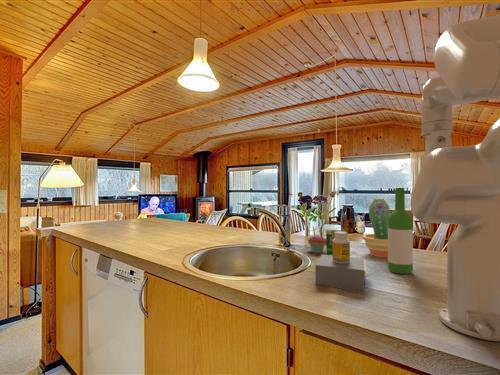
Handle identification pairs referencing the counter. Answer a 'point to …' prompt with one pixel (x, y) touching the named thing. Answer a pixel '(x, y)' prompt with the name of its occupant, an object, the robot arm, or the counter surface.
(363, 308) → the counter surface
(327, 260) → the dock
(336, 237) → the supplement bottle
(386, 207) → the potted cactus
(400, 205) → the wine bottle
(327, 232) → the coffee box
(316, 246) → the cupcake
